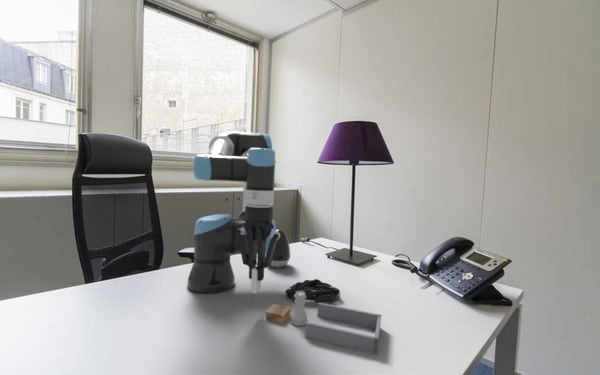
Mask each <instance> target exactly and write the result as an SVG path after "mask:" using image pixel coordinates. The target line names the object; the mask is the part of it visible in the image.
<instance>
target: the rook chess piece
mask: <svg viewBox="0 0 600 375" xmlns="http://www.w3.org/2000/svg"><path fill="white" fill-rule="evenodd" d="M294 297H295V298H296V300H295V299H294V305H295V306H294V310H293V311H292V314H290V322H291V324H292V325H294V326H295V327H296V326H297V327H303V326H306V322H308V315H307V313H306V308H305V303H306V300H305V298H306V295H305V292H304V293H303V291H302V290H301V292H300V291H296V294H295V295H294Z"/></svg>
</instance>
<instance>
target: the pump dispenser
mask: <svg viewBox="0 0 600 375" xmlns="http://www.w3.org/2000/svg"><path fill="white" fill-rule="evenodd" d="M275 231H276V232H277V233H281V237H280V238H279V239H278V241H277V245H276V248H275V252H274V255H273V259H272V263H271V265H270V266H269V267H272V268H283V267H286V266H287V264H288V263H289V261H290V259H291V249H290V248H291V247H290V243H289V242H290V241H289V239H288V236H287V233H286V232H285V231H284V230H283V229H280V228H279V229H275ZM266 254H267V253H266ZM266 254H265V255H266Z"/></svg>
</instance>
